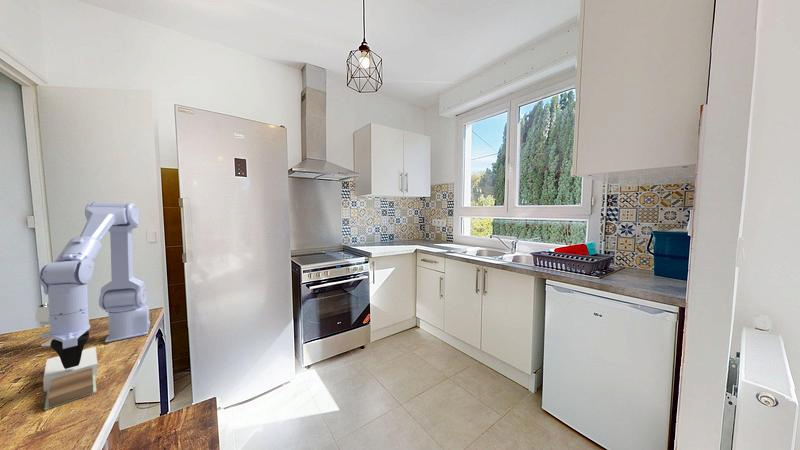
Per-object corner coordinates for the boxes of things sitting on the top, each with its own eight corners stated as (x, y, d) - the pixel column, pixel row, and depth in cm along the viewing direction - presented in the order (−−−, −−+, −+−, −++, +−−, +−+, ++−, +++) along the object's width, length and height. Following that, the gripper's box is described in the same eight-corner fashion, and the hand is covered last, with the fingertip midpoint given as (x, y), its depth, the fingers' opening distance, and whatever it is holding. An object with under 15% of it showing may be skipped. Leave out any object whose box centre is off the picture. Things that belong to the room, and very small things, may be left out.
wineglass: (72, 340, 81) (71, 302, 81) (42, 349, 76) (40, 309, 75) (63, 336, 83) (61, 300, 82) (33, 345, 78) (31, 306, 77)
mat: (47, 390, 59) (47, 389, 59) (94, 375, 65) (94, 374, 64) (44, 410, 53) (44, 408, 53) (96, 392, 59) (96, 391, 59)
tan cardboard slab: (51, 388, 59) (51, 380, 59) (92, 376, 64) (92, 368, 64) (48, 408, 54) (48, 398, 54) (93, 392, 58) (93, 384, 58)
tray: (47, 370, 66) (47, 359, 66) (95, 357, 72) (95, 346, 72) (43, 391, 59) (43, 379, 58) (98, 374, 65) (97, 363, 65)
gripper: (43, 307, 63) (45, 361, 63) (37, 325, 54) (40, 388, 54) (88, 300, 68) (90, 350, 69) (90, 315, 59) (92, 372, 60)
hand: (71, 366), depth 62 cm, fingers closed
